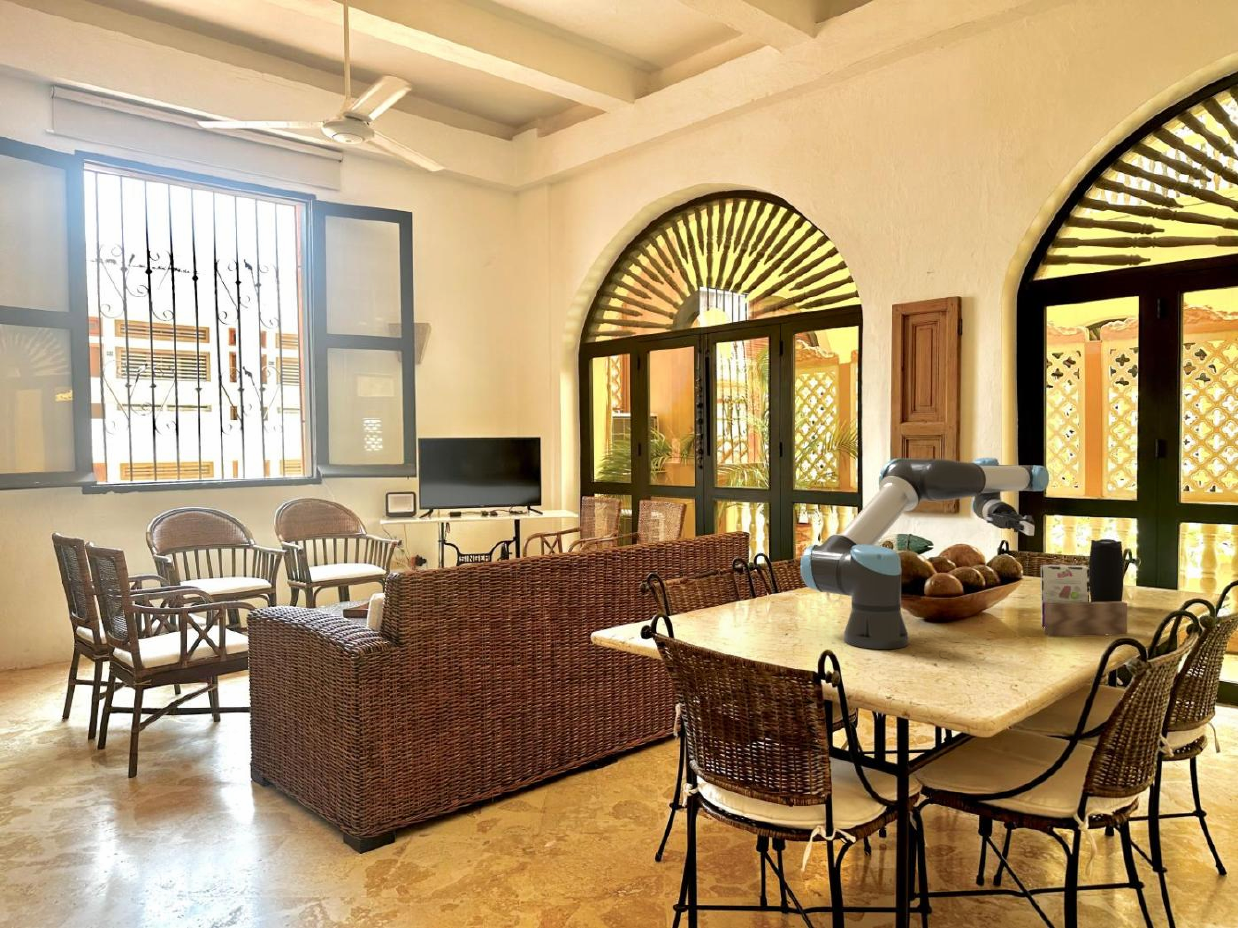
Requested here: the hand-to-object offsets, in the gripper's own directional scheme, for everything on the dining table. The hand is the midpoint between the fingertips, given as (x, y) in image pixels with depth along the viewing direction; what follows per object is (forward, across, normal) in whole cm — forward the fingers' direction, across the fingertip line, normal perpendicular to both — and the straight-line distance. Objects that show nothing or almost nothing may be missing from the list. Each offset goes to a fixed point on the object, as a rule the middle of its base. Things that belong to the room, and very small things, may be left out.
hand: (1031, 530), depth 237 cm
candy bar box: (+13, -5, -23) cm, 27 cm away
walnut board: (+21, -7, -22) cm, 31 cm away
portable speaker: (-15, -29, -25) cm, 42 cm away
